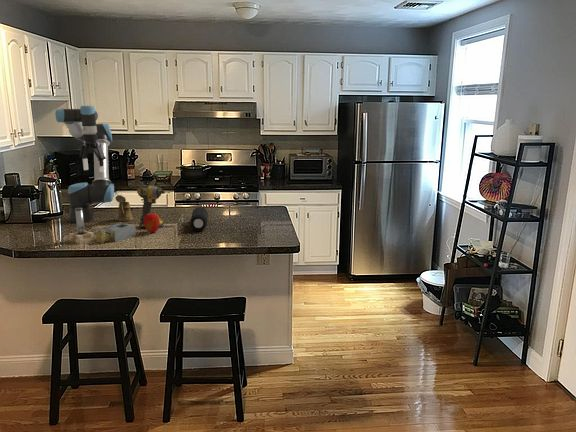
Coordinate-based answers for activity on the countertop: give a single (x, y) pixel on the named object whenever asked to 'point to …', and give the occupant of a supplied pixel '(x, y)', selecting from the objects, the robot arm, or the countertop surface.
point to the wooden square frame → (81, 237)
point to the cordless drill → (149, 200)
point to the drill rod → (80, 221)
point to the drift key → (103, 237)
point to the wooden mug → (124, 209)
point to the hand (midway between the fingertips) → (93, 170)
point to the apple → (151, 222)
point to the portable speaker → (199, 219)
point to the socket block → (120, 231)
